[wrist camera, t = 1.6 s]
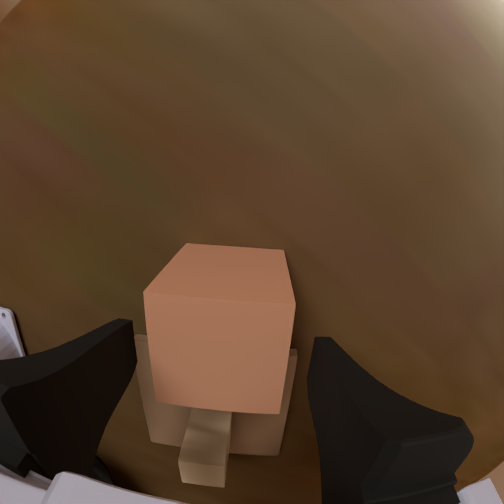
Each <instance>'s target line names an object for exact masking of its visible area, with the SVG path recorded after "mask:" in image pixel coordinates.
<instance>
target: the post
mask: <svg viewBox="0 0 504 504" xmlns="http://www.w3.org/2000/svg"><path fill="white" fill-rule="evenodd" d="M231 418H232V412H231V411H220V410H211V409H202V408H194V407H192V410H191V414H190V417H189V421H188V425H187V428H186V432H185V436H184V440H183V444H182V447H181V451H180V455H179V459H178V463H179V468H180V474H181V479H182V482H185V483H191V484H198V485H205V486H214V487H223V488H225V479H226V471H227V462H228V454H229V445H230V437H231Z"/></svg>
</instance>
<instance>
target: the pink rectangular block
mask: <svg viewBox="0 0 504 504" xmlns="http://www.w3.org/2000/svg"><path fill="white" fill-rule="evenodd" d="M143 293H144V306H145V318H146V328H147V338H148V347H149V355H150V363H151V370H152V377H153V384H154V391H155V397H156V402H161V403H167V404H173V405H180V406H187V407H194V408H202V409H211V410H220V411H231V412H243V413H259V414H279V413H280V407H281V401H282V395H283V389H284V383H285V376H286V370H287V364H288V357H289V350H290V343H291V336H292V329H293V322H294V315H295V307H296V303H295V298H294V294H293V289H292V285H291V280H290V276H289V271H288V267H287V262H286V258H285V254H284V250H277V249H263V248H248V247H234V246H219V245H204V244H190V243H186V244H185V245H184V246H183V247H182V248H181V250H180V251H179V252H178V253H177V254H176V255H175V256H174V257H173V259H172V260H171V261H170V262H169V263H168V264H167V265H166V266H165V268H164V269H163V270H162V271H161V272H160V273H159V274H158V276H157V277H156V278H155V279H154V280H153V281H152V282H151V284H150V285H149V286H148V287H147V288H146V289H145V290H144V292H143Z"/></svg>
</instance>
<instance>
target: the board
mask: <svg viewBox="0 0 504 504" xmlns="http://www.w3.org/2000/svg"><path fill="white" fill-rule="evenodd" d="M134 339H135V346H136V353H137V360H138V362H137V365H136V371H137V377H138V382H139V388H140V393H141V398H142V403H143V408H144V413H145V417H146V422H147V426H148V430H149V435H150V439H151V442H155V443H161V444H166V445H172V446H178V447H182V444H183V440H184V436H185V432H186V428H187V425H188V421H189V417H190V414H191V410H192V407H187V406H180V405H173V404H167V403H161V402H156V397H155V391H154V384H153V377H152V370H151V363H150V355H149V347H148V338H147V335H142V334H136V335H135V336H134ZM297 357H298V355H297V349H290V350H289V357H288V364H287V370H286V376H285V383H284V389H283V395H282V401H281V407H280V413H279V414H259V413H243V412H232V418H231V437H230V445H229V453H235V454H248V455H269V456H279V451H280V446H281V442H282V437H283V432H284V427H285V422H286V417H287V412H288V407H289V402H290V397H291V391H292V386H293V380H294V375H295V369H296V363H297Z"/></svg>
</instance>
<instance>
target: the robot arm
mask: <svg viewBox="0 0 504 504" xmlns="http://www.w3.org/2000/svg"><path fill="white" fill-rule="evenodd" d="M137 362H138V360H137V353H136V346H135V339H134V331H133V323H132V320H126V319H120V318H119V319H116V320H113V321H111V322H109V323H107V324H105V325H103V326H101V327H99V328H97V329H95V330H93V331H91V332H89V333H87V334H85V335H83V336H81V337H79V338H76V339H74V340H72V341H70V342H67V343H65V344H63V345H60V346H58V347H55V348H52V349H49V350H46V351H43V352H40V353H36V354H32V355H27V356H26V355H25V352H24V349H23V346H22V342H21V339H20V336H19V332H18V329H17V325H16V321H15V317H14V314H13V312H12V311H11V310H9V309H6V308H2V307H0V504H187V503H184V502H180V501H176V500H171V499H165V498H161V497H156V496H152V495H147V494H143V493H139V492H135V491H131V490H128V489H124V488H121V487H117V486H114V485H111V484H107V483H104V482H101V481H98V480H95V479H92V478H89V477H90V473H91V469H92V465H93V462H94V458H95V455H96V452H97V449H98V446H99V443H100V440H101V438H102V435H103V432H104V430H105V427H106V425H107V423H108V421H109V419H110V417H111V415H112V413H113V411H114V410H115V408H116V406H117V404H118V402H119V401H120V399H121V397H122V395H123V394H124V392H125V390H126V388H127V386H128V384H129V383H130V381H131V378H132V376H133V373H134V370H135V368H136V365H137ZM307 385H308V398H309V403H310V408H311V413H312V417H313V422H314V427H315V431H316V436H317V441H318V446H319V454H320V467H321V486H322V504H503V503H502V501H501V499H500V498H499V495H498V493H497V491H496V489H495V487H494V486H493V484H492V482H491V480H490V478H486V479H483V480H481V481H478V482H476V483H473V484H470V485H468V486H465V487H463V488H462V489H460V490H458V491H457V492H456V490H455V488H454V486H453V485H455V484H456V483H457V479H456V476H455V474H454V473H455V471H456V470H457V469H458V468H459V466H460V465H461V464H462V462H463V461H464V460H465V458H466V457H467V456H468V454H469V452H470V451H471V449H472V446H473V443H474V438H473V435H472V433H471V432H470V430H469V428H468V427H467V425H466V424H465V422H464V420H463V419H462V418H460V417H456V416H452V415H448V414H445V413H441V412H438V411H435V410H432V409H430V408H427V407H424V406H422V405H420V404H417V403H415V402H413V401H411V400H409V399H407V398H405V397H403V396H401V395H399V394H398V393H396V392H394V391H393V390H391V389H390V388H388V387H387V386H385V385H384V384H382V383H381V382H379V381H378V380H376V379H375V378H374V377H373V376H371V375H370V374H369V373H368V372H366V371H365V370H364V369H363V368H362V367H361V366H359V365H358V364H357V363H356V362H355V361H354V360H353V359H352V358H351V357H350V356H349V355H348V354H347V353H346V352H345V351H344V350H343V349H342V348H341V347H340V346H339V345H338V344H337V343H336V342H335V341H334V340H333V339H332V338H331V337H315V339H314V345H313V350H312V355H311V361H310V366H309V371H308V376H307Z"/></svg>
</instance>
